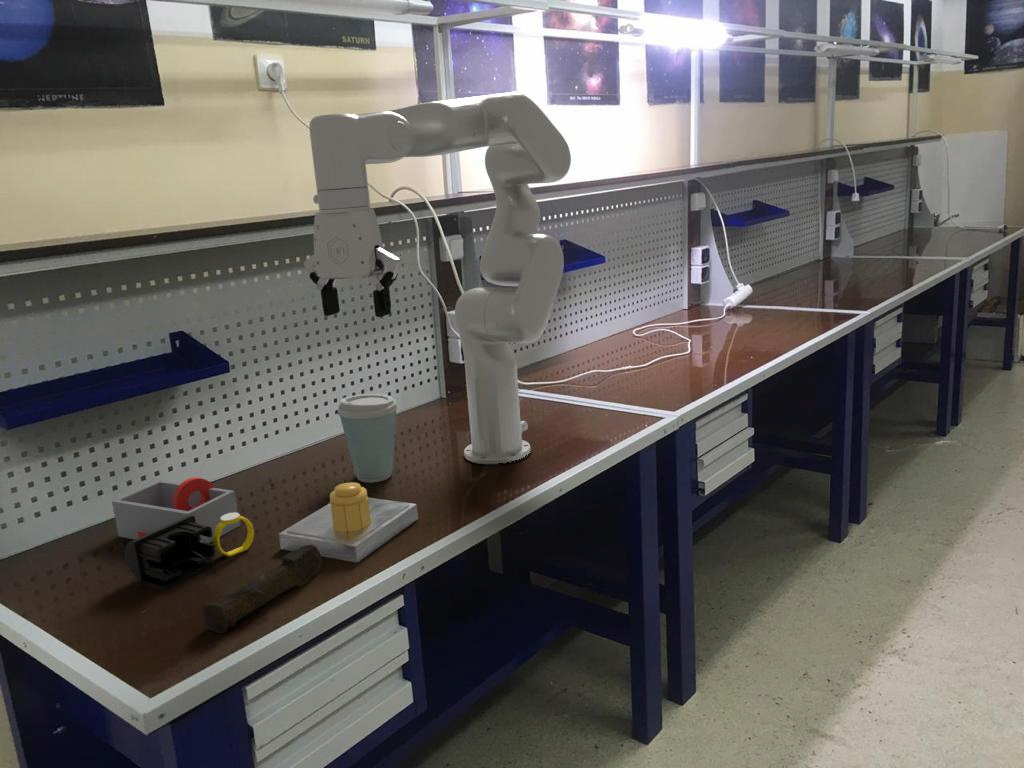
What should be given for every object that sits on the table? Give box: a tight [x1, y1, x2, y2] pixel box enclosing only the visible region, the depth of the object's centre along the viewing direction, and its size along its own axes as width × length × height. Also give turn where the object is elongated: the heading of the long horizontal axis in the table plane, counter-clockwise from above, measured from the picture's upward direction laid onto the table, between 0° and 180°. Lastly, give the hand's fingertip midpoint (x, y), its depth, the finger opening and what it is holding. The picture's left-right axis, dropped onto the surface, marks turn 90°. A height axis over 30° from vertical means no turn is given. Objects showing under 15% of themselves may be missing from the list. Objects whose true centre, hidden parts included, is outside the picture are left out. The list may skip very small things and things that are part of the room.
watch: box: [212, 512, 255, 558], centre depth 128 cm, size 6×3×6 cm, turn 137°
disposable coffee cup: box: [337, 393, 399, 484], centre depth 155 cm, size 11×11×15 cm
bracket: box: [138, 476, 215, 538], centre depth 137 cm, size 12×4×8 cm, turn 138°
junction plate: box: [278, 497, 419, 564], centre depth 132 cm, size 16×14×6 cm
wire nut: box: [329, 481, 371, 532], centre depth 129 cm, size 5×5×6 cm
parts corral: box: [111, 479, 241, 544], centre depth 138 cm, size 10×17×6 cm, turn 63°
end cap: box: [124, 516, 216, 591], centre depth 123 cm, size 10×7×7 cm
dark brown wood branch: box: [202, 545, 323, 634], centre depth 114 cm, size 19×4×5 cm, turn 146°
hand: (357, 314), depth 133 cm, fingers open, 9 cm apart
